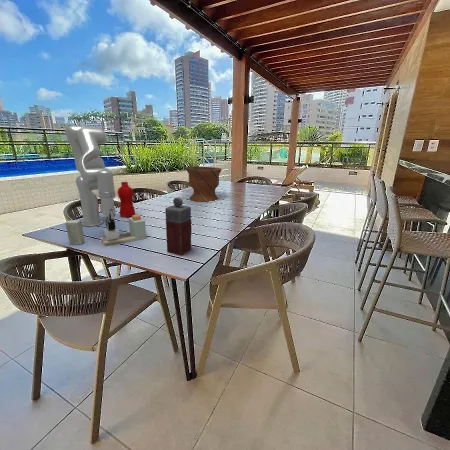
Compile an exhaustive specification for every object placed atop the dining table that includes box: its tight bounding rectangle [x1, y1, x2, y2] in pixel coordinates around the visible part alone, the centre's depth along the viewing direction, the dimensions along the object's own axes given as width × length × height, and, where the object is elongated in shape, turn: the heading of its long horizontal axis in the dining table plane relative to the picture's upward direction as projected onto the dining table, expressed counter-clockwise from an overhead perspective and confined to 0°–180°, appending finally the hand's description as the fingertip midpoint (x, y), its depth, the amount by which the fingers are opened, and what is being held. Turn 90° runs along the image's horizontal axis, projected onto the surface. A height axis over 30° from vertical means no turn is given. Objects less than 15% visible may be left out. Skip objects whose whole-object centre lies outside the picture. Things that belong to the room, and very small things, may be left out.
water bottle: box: [117, 181, 136, 219], centre depth 177 cm, size 9×11×25 cm
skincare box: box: [64, 219, 86, 245], centre depth 131 cm, size 6×4×12 cm
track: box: [99, 231, 147, 247], centre depth 139 cm, size 10×22×4 cm, turn 127°
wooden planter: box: [185, 166, 223, 203], centre depth 239 cm, size 34×35×29 cm
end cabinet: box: [128, 217, 147, 238], centre depth 142 cm, size 10×6×9 cm, turn 37°
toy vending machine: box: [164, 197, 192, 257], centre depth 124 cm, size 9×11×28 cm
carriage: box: [103, 217, 120, 240], centre depth 134 cm, size 7×6×12 cm
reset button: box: [131, 214, 142, 221], centre depth 141 cm, size 4×4×3 cm
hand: (110, 227), depth 134 cm, fingers open, 4 cm apart
